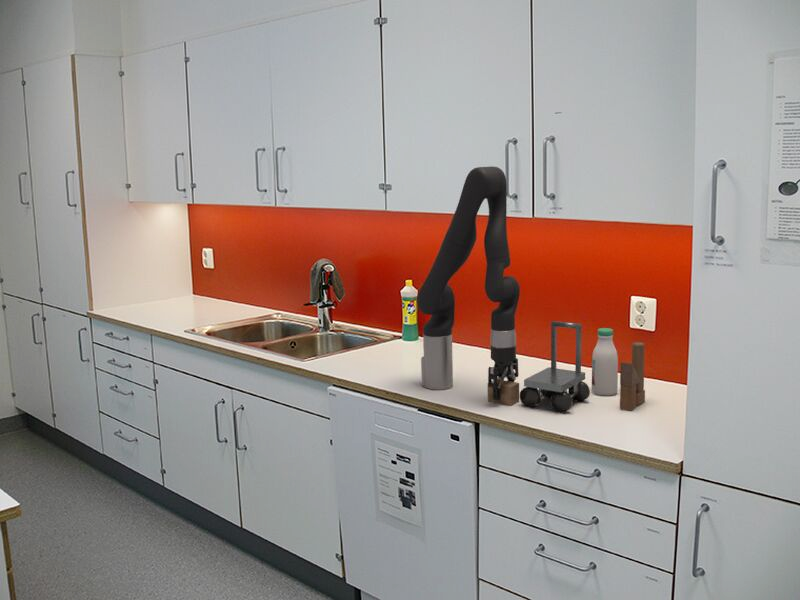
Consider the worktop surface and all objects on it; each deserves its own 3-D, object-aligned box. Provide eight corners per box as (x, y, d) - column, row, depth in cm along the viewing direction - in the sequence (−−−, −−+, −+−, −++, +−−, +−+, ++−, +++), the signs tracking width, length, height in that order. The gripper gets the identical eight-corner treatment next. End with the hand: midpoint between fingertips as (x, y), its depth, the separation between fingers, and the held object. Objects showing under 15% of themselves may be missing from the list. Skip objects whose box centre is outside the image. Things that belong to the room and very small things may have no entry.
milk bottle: (622, 392, 261) (623, 328, 258) (608, 397, 256) (609, 333, 253) (600, 387, 267) (601, 325, 263) (586, 393, 262) (587, 329, 258)
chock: (487, 402, 256) (487, 383, 255) (496, 398, 260) (495, 379, 259) (511, 406, 251) (511, 386, 250) (519, 402, 255) (519, 382, 254)
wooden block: (619, 409, 245) (620, 348, 242) (633, 399, 254) (634, 341, 250) (631, 411, 243) (632, 350, 240) (645, 401, 251) (646, 342, 248)
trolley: (518, 406, 250) (517, 329, 246) (542, 392, 263) (543, 319, 259) (568, 415, 241) (568, 335, 237) (591, 400, 254) (592, 324, 250)
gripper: (503, 337, 260) (504, 388, 263) (480, 347, 249) (480, 400, 252) (525, 340, 256) (526, 392, 258) (502, 350, 244) (503, 404, 247)
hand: (503, 396), depth 255 cm, fingers open, 8 cm apart
